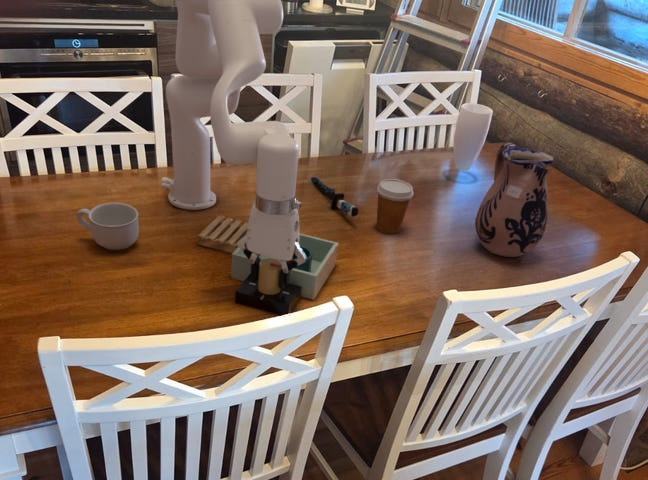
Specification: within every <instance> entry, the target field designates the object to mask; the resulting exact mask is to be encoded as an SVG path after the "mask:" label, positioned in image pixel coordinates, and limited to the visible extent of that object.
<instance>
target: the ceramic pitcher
mask: <svg viewBox="0 0 648 480" xmlns="http://www.w3.org/2000/svg"><path fill="white" fill-rule="evenodd" d="M554 162H555V157H554V156H552V155H550V154H548V153H545V152H543V151H540V150H537V149H532V148H526V147H520V146H517V144H514V143H512V142H507V143H504V144H502V145H501V146H500V147H499V149H498V151H497V153H496V156H495V161H494V171H493V173H494V174H493V183H492V184H491V186H490V187H489V189H488V191H487V192H486V193H485V196H484V197H483V198H482V201H481V202H480V205H479V207H478V210H477V213H476V216H475V221H474V228H475V233H476V235H477V238H478V240H479V242H480V243H481V245H482V246H483V248H485V250H487V251H488V252H490V253H491V254H494V255H496V256H499V257H504V258H505V257H506V258H516V257H521V256H523V255H525V254H528V253H529V252H531V251H532V250H533V249H534V248H535V247H536V246H537V245H538V244H539V243H540V241H541V239H542V238H543V236H544V234H545V232H546V227H547V222H548V207H549V206H548V202H549V201H548V197H549V196H548V195H549V194H548V172H549V170H550V166H551V165H552V164H553V163H554Z"/></svg>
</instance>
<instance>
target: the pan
mask: <svg viewBox="0 0 648 480" xmlns="http://www.w3.org/2000/svg"><path fill="white" fill-rule="evenodd" d="M300 247H301V249H302V250H303V252H304V253H305V255H306V256H307V260H306V261H305V262H304V263H302V264H300V265H298V266H296V267H295V268H294V269H298V270H302V271H306V272H311V264H312V252H311V250H309V249H307V248H306V247H302V246H300ZM296 258H297V256H296V255H295V253H294V254H293V257H292V260H294V259H296Z"/></svg>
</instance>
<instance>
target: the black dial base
mask: <svg viewBox="0 0 648 480" xmlns="http://www.w3.org/2000/svg"><path fill="white" fill-rule="evenodd" d="M301 290H302V287H300V286H297V285H293V284H289V283H288V284H286V285H285V286H284V287H283V289H281V290H280V292H279V293H277V294H274V295H267V294H263V293H261V292H260V291H259V290H258V279H257V281H255V282H254V281H252V275H251V273H250V274H249V276H248V277H247V278H246V279H245V280H244V281H242V283H240V285H239V286H238V287H237V289H236V290H235V296H234V297H235V298H234V299H235V301H234V303H235V304H239V305H242V306H246V307H250V308H253V309H257V310H260V311H264V312H267V313H271V314H274V315H278V316H282V315H284V314H288V313H291V314H292V312H293V311H294V309H295V308H296V306H297V305H298V303H299V302H300V300H301V299H302V297H301Z"/></svg>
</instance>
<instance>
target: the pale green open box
mask: <svg viewBox="0 0 648 480" xmlns="http://www.w3.org/2000/svg"><path fill="white" fill-rule="evenodd" d="M299 246H302V247H306V248H307V249H309V250H311V252H312V264H311V272H306V271H302V270H298V269H294V268H293V269H292V270H290V278H289V284H293V285H297V286H300V287H302V290H301V298H305V299H308V300H315V299H316V297H317V295H318V294H319V292H320V291H321V289H322V287H323V286H324V284H325V283H326V281H327V279H328V278H329V276H330V275H331V273H332V272H333V270H334V268H335V267H336V262H337V255H338V249H339V242H336V241H332V240H329V239H324V238H321V237H317V236H314V235H313V236H312V235H308V234H304V233H300V232H299ZM259 258H260V259H261V260H263V259H267V258H272V259H276V258H273V257H269V256H265V255H261V254H260V256H259ZM277 260H279V261H280V259H277ZM280 262H281V261H280ZM230 271H231V273H230V274H231V275H230V277H231V279H234V280H237V281H241V282H244V280H245V279H246V278H247V277H248V276H249V274H250V273H251V264H250V263H249V259H248V258H247V257H246V255H245V254H244V252H243V250H241V249H240V248H239V247H238V248H237V249H236V250H235V251H234V252H233V253H231V270H230Z"/></svg>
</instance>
